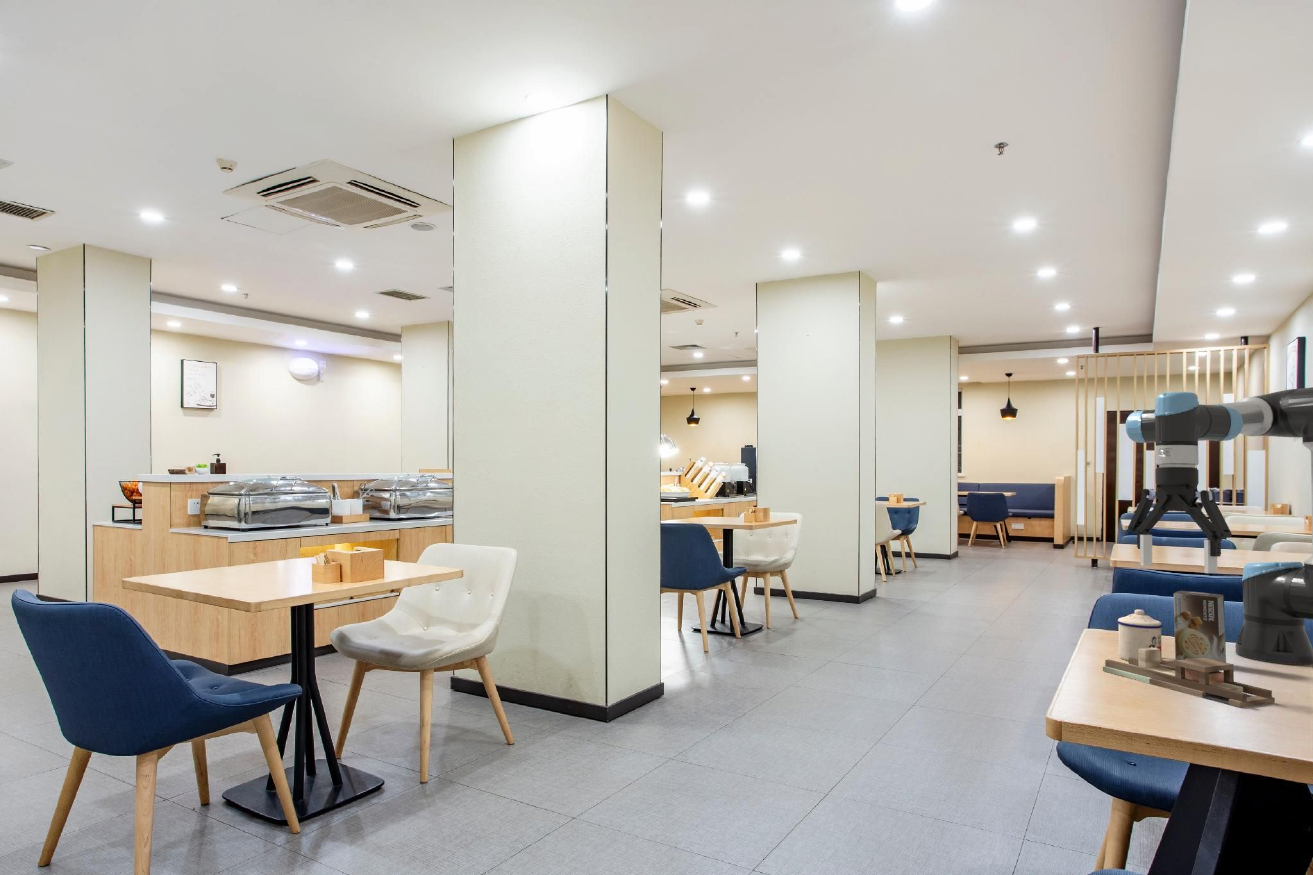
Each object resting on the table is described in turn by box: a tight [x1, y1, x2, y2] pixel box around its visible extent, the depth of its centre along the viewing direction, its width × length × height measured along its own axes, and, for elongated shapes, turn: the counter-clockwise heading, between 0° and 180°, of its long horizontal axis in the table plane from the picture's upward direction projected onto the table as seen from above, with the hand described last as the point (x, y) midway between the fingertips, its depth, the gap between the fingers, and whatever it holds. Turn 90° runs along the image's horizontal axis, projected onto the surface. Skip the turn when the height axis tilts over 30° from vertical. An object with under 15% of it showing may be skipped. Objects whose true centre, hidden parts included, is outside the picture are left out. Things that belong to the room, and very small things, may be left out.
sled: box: [1138, 648, 1243, 693], centre depth 162 cm, size 4×19×5 cm, turn 21°
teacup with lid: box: [1117, 609, 1163, 663], centre depth 188 cm, size 12×9×12 cm
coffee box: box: [1173, 590, 1227, 663], centre depth 185 cm, size 9×6×16 cm
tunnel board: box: [1102, 657, 1276, 708], centre depth 163 cm, size 10×29×6 cm, turn 21°
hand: (1177, 569), depth 164 cm, fingers open, 13 cm apart
